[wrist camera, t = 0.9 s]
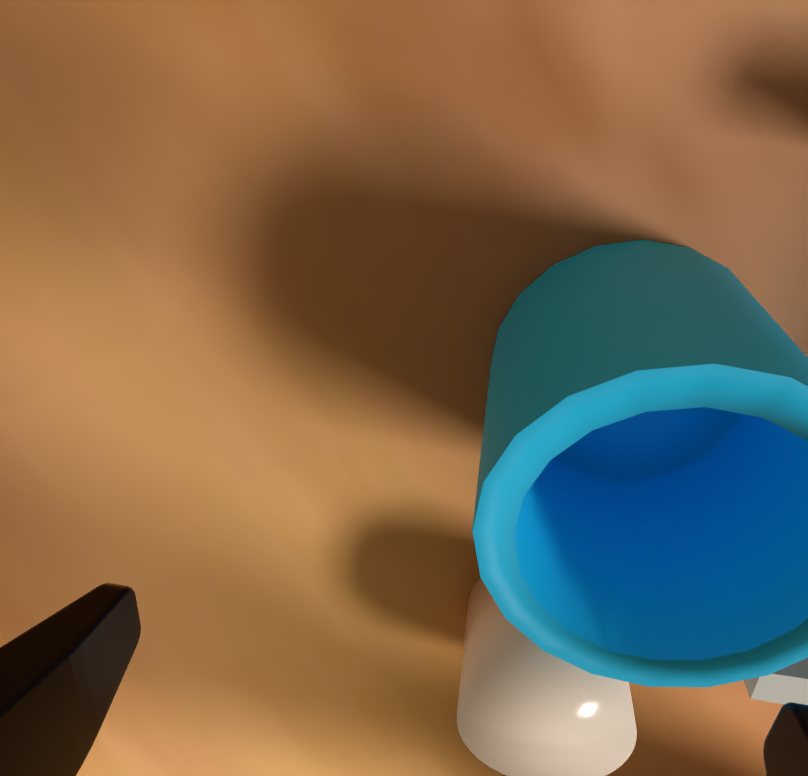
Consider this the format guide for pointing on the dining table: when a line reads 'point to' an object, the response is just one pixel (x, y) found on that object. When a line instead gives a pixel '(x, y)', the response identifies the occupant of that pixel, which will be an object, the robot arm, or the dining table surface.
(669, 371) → the mug
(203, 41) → the dining table surface
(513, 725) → the cream rounded cylinder
